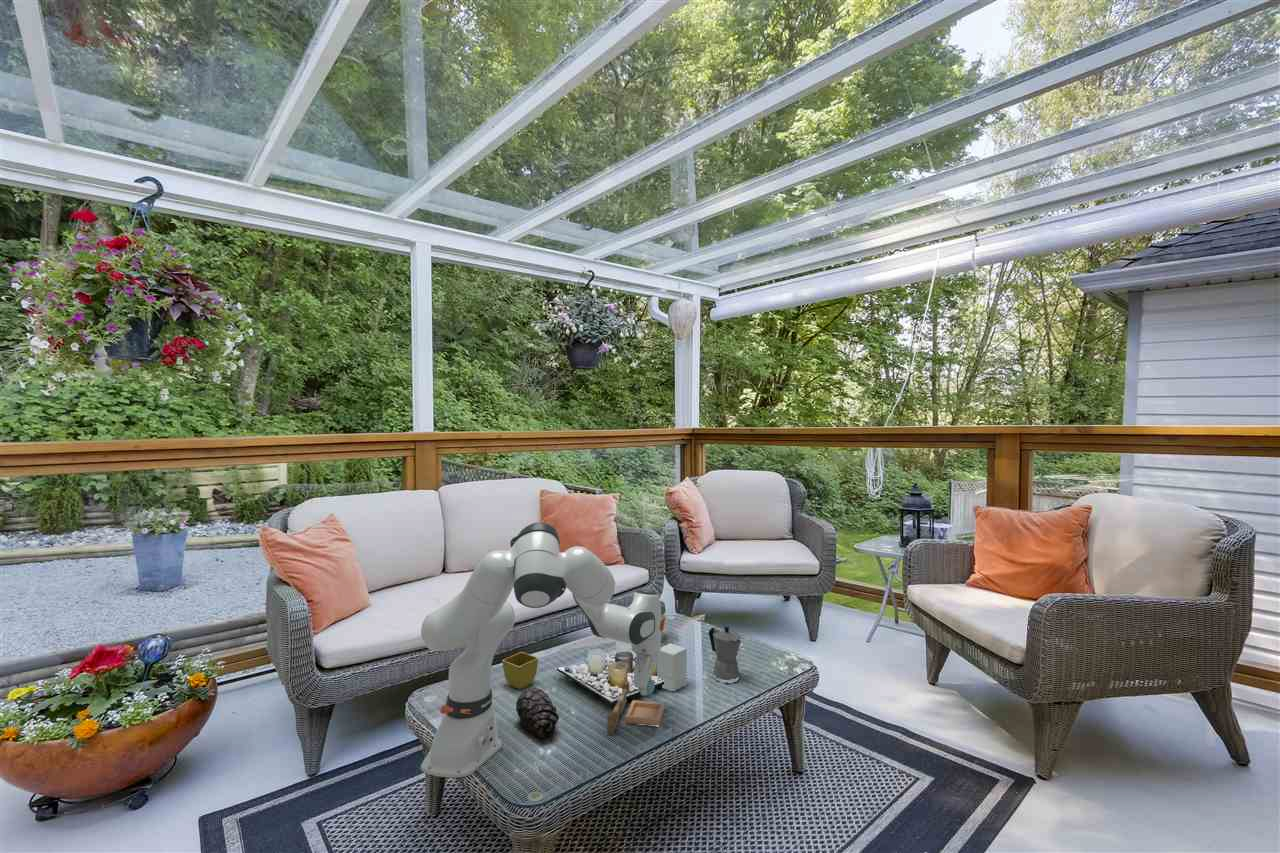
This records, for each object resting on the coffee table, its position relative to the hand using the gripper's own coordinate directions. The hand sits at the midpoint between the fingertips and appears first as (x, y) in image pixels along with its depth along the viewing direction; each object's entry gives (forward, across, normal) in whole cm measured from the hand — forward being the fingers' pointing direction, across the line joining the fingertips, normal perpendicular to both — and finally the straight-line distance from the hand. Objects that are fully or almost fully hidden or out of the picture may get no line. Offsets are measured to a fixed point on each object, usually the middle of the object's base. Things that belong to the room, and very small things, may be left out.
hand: (646, 689), depth 178 cm
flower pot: (+9, +12, +45) cm, 48 cm away
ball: (+2, 0, 0) cm, 2 cm away
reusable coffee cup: (+9, +59, +10) cm, 61 cm away
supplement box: (+9, +22, -5) cm, 25 cm away
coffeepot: (+9, +32, -22) cm, 40 cm away
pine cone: (+9, -12, +29) cm, 33 cm away
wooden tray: (+9, 0, 0) cm, 9 cm away
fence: (+9, -1, +8) cm, 12 cm away
